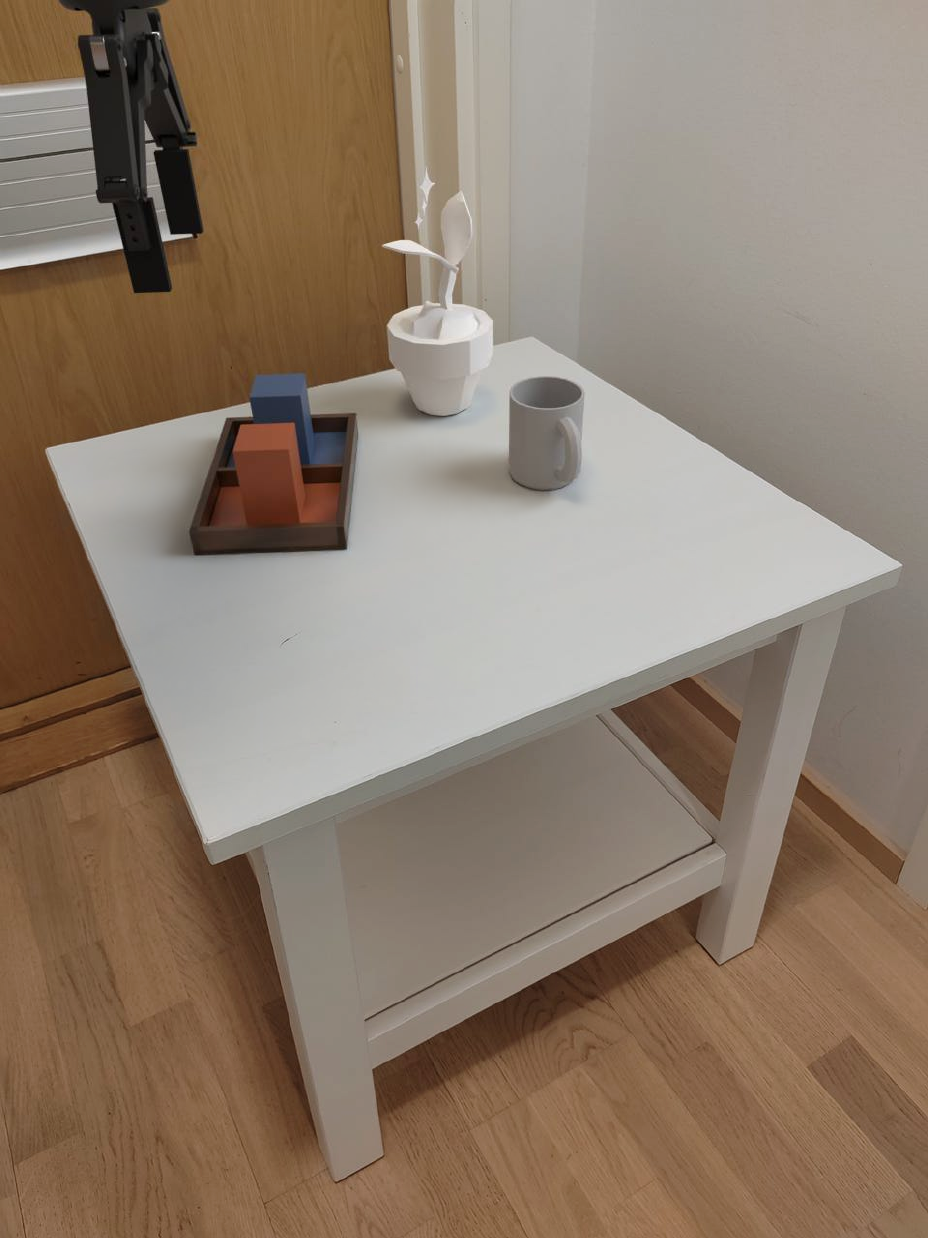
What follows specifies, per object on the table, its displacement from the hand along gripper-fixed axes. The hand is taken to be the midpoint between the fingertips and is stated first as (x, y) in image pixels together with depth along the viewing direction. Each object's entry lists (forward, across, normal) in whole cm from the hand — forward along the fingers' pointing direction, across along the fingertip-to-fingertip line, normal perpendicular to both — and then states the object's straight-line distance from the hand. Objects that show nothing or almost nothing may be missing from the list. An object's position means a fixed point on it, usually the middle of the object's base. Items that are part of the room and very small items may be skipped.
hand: (171, 260), depth 77 cm
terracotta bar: (+24, 0, -5) cm, 24 cm away
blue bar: (+24, +10, -5) cm, 27 cm away
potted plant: (+25, +22, -21) cm, 39 cm away
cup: (+25, +5, -32) cm, 41 cm away
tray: (+25, +5, -5) cm, 26 cm away
